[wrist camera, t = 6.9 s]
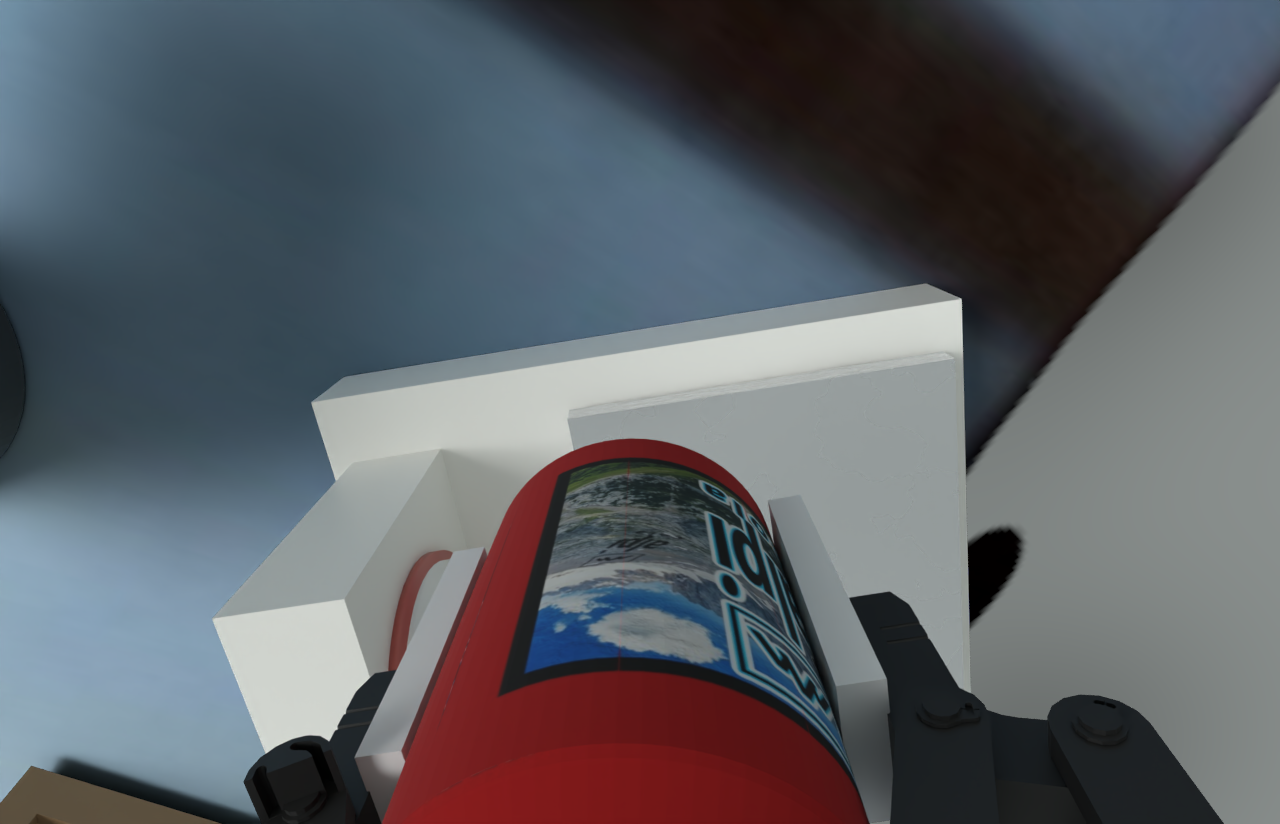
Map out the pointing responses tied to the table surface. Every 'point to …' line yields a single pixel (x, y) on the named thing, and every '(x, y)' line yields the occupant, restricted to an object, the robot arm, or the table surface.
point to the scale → (502, 477)
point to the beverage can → (629, 663)
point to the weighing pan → (836, 469)
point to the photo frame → (81, 804)
